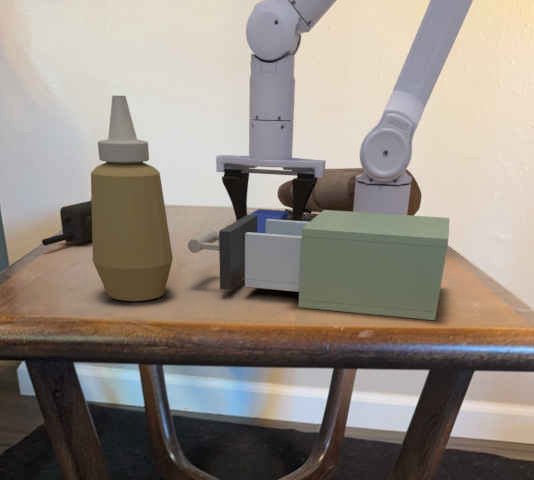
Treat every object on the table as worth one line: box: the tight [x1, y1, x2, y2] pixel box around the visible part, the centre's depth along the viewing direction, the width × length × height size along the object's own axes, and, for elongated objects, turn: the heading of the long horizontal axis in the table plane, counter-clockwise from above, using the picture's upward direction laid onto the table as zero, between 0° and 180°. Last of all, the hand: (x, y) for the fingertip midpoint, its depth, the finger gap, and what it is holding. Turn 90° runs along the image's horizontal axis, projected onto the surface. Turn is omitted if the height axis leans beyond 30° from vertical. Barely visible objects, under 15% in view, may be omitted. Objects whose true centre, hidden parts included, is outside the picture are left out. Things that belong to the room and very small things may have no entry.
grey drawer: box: [187, 214, 309, 293], centre depth 67 cm, size 17×10×6 cm, turn 76°
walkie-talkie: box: [41, 200, 92, 247], centre depth 86 cm, size 5×3×15 cm
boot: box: [277, 167, 422, 216], centre depth 106 cm, size 8×24×17 cm
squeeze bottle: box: [90, 95, 174, 302], centre depth 61 cm, size 8×8×18 cm
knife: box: [284, 208, 293, 215], centre depth 104 cm, size 15×1×2 cm
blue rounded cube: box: [249, 208, 288, 233], centre depth 87 cm, size 4×4×4 cm
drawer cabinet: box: [298, 210, 450, 321], centre depth 65 cm, size 14×12×8 cm
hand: (268, 231), depth 88 cm, fingers open, 7 cm apart
